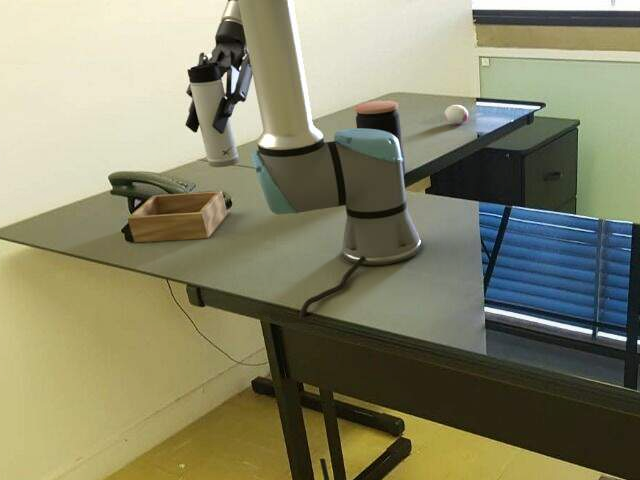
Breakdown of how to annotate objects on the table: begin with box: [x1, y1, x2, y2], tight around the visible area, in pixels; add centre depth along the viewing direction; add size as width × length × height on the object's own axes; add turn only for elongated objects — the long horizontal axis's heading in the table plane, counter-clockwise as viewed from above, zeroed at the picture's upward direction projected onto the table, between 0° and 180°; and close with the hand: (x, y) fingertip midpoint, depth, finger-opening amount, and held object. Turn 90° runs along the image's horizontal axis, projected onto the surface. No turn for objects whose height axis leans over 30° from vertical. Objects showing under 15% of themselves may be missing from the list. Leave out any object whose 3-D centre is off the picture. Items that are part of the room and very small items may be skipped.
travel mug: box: [187, 61, 240, 168], centre depth 161 cm, size 6×7×20 cm
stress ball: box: [444, 104, 469, 127], centre depth 249 cm, size 8×8×7 cm
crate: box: [126, 190, 228, 243], centre depth 175 cm, size 16×16×6 cm
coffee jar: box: [353, 100, 407, 177], centre depth 196 cm, size 11×11×18 cm
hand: (204, 129), depth 160 cm, fingers closed on travel mug, 6 cm apart
